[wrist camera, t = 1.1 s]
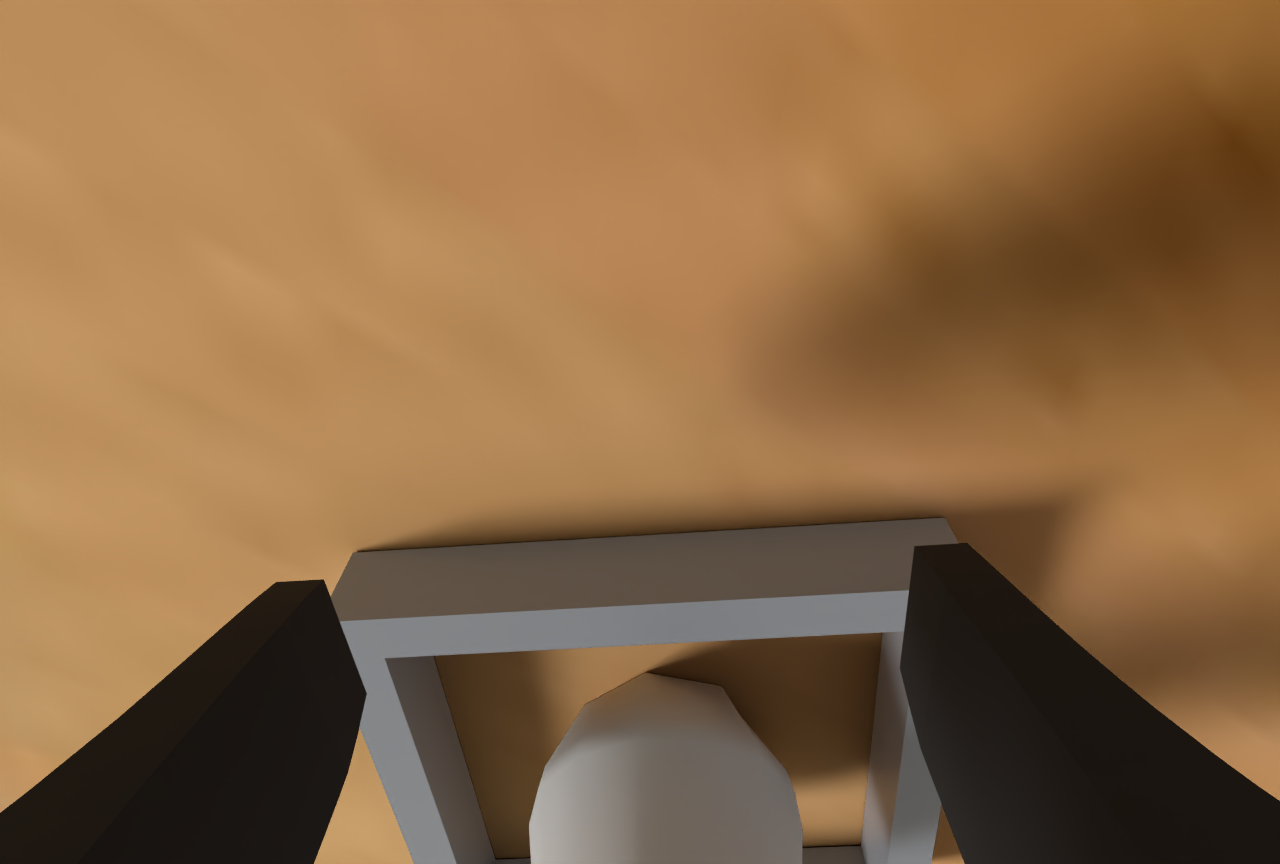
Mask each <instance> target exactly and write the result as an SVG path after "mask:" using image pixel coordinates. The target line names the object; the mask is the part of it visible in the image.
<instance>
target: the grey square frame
mask: <svg viewBox="0 0 1280 864" xmlns="http://www.w3.org/2000/svg"><path fill="white" fill-rule="evenodd" d="M940 544H958V541H957V539H956V537H955V535H954V533H953V532H952V530H951V528H950V526H949V524H948V522H947V520H946V518H929V519H912V520H895V521H878V522H861V523H844V524H827V525H811V526H794V527H777V528H760V529H743V530H726V531H709V532H692V533H676V534H659V535H642V536H625V537H608V538H591V539H574V540H557V541H541V542H524V543H507V544H490V545H473V546H456V547H439V548H422V549H406V550H389V551H372V552H355V553H353V554H352V556H351V558H350V560H349V562H348V564H347V566H346V568H345V570H344V572H343V574H342V576H341V578H340V580H339V581H338V583H337V585H336V587H335V589H334V591H333V593H332V595H331V600H332V603H333V605H334V608H335V611H336V613H337V616H338V619H339V621H340V624H341V626H342V629H343V632H344V634H345V637H346V640H347V642H348V645H349V648H350V650H351V653H352V656H353V658H354V661H355V663H356V666H357V669H358V671H359V674H360V677H361V679H362V682H363V685H364V687H365V690H366V693H367V696H366V700H365V704H364V709H363V713H362V718H361V722H360V726H359V727H360V729H361V732H362V734H363V737H364V739H365V742H366V744H367V747H368V749H369V752H370V754H371V757H372V759H373V762H374V764H375V767H376V769H377V772H378V775H379V777H380V780H381V782H382V785H383V787H384V790H385V792H386V795H387V797H388V800H389V802H390V805H391V807H392V810H393V812H394V815H395V817H396V820H397V822H398V825H399V827H400V830H401V832H402V835H403V837H404V840H405V842H406V845H407V847H408V850H409V852H410V855H411V857H412V860H413V862H414V864H531V858H528V859H502V860H495V857H494V853H493V850H492V847H491V844H490V840H489V837H488V834H487V830H486V827H485V824H484V821H483V817H482V814H481V811H480V808H479V804H478V801H477V798H476V795H475V791H474V788H473V785H472V781H471V778H470V775H469V772H468V768H467V765H466V762H465V759H464V755H463V752H462V749H461V746H460V742H459V739H458V736H457V732H456V729H455V726H454V723H453V719H452V716H451V713H450V710H449V706H448V703H447V700H446V696H445V693H444V690H443V687H442V683H441V680H440V677H439V674H438V670H437V667H436V664H435V661H434V657H433V656H438V655H457V654H476V653H495V652H515V651H534V650H553V649H572V648H592V647H611V646H630V645H649V644H669V643H688V642H707V641H726V640H746V639H765V638H784V637H803V636H823V635H842V634H861V633H880V632H883V633H882V643H881V653H880V663H879V673H878V682H877V692H876V702H875V712H874V722H873V732H872V742H871V751H870V761H869V771H868V781H867V791H866V801H865V811H864V821H863V830H862V840H861V846H844V847H818V848H802V864H931V861H932V855H933V850H934V844H935V839H936V833H937V828H938V822H939V817H940V811H941V806H942V804H941V801H940V798H939V796H938V793H937V791H936V788H935V785H934V783H933V780H932V778H931V775H930V772H929V770H928V767H927V764H926V762H925V759H924V756H923V754H922V751H921V748H920V745H919V741H918V737H917V734H916V730H915V726H914V722H913V719H912V715H911V711H910V707H909V703H908V699H907V695H906V691H905V687H904V683H903V679H902V675H901V671H900V660H901V652H902V644H903V636H904V627H905V619H906V611H907V603H908V595H909V586H910V578H911V570H912V562H913V553H914V546H923V545H940Z"/></svg>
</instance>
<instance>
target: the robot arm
mask: <svg viewBox="0 0 1280 864" xmlns="http://www.w3.org/2000/svg"><path fill="white" fill-rule="evenodd" d="M900 671H901V675H902V679H903V683H904V687H905V691H906V695H907V699H908V703H909V707H910V711H911V715H912V719H913V722H914V726H915V730H916V734H917V737H918V741H919V745H920V748H921V751H922V754H923V756H924V759H925V762H926V764H927V767H928V770H929V772H930V775H931V778H932V780H933V783H934V785H935V788H936V791H937V793H938V796H939V798H940V801H941V804H942V806H943V809H944V811H945V814H946V817H947V819H948V822H949V824H950V827H951V829H952V832H953V834H954V837H955V840H956V842H957V845H958V847H959V850H960V852H961V855H962V858H963V860H964V863H965V864H1280V801H1279V800H1277V799H1276V798H1274V797H1273V796H1272V795H1270V794H1269V793H1267V792H1266V791H1264V790H1263V789H1261V788H1260V787H1259V786H1257V785H1256V784H1254V783H1253V782H1252V781H1250V780H1249V779H1247V778H1246V777H1245V776H1243V775H1242V774H1241V773H1239V772H1238V771H1237V770H1235V769H1234V768H1232V767H1231V766H1230V765H1228V764H1227V763H1226V762H1224V761H1223V760H1222V759H1220V758H1219V757H1218V756H1216V755H1215V754H1214V753H1212V752H1211V751H1210V750H1208V749H1207V748H1206V747H1205V746H1203V745H1202V744H1201V743H1199V742H1198V741H1197V740H1196V739H1194V738H1193V737H1192V736H1190V735H1189V734H1188V733H1186V732H1185V731H1184V730H1183V729H1181V728H1180V727H1179V726H1177V725H1176V724H1175V723H1174V722H1172V721H1171V720H1170V719H1168V718H1167V717H1166V716H1165V715H1163V714H1162V713H1161V712H1159V711H1158V710H1157V709H1156V708H1154V707H1153V706H1152V705H1151V704H1149V703H1148V702H1147V701H1146V700H1144V699H1143V698H1142V697H1141V696H1140V695H1138V694H1137V693H1136V692H1135V691H1133V690H1132V689H1131V688H1130V687H1129V686H1127V685H1126V684H1125V683H1124V682H1122V681H1121V680H1120V679H1119V678H1118V677H1117V676H1115V675H1114V674H1113V673H1112V672H1111V671H1110V670H1108V669H1107V668H1106V667H1105V666H1104V665H1103V664H1101V663H1100V662H1099V661H1098V660H1097V659H1096V658H1094V657H1093V656H1092V655H1091V654H1090V653H1088V652H1087V651H1086V650H1085V649H1084V648H1083V647H1081V646H1080V645H1079V644H1078V643H1077V642H1076V641H1075V640H1073V639H1072V638H1071V637H1070V636H1069V635H1068V634H1067V633H1066V632H1064V631H1063V630H1062V629H1061V628H1060V627H1059V626H1058V625H1056V624H1055V623H1054V622H1053V621H1052V620H1051V619H1050V618H1049V617H1048V616H1047V615H1045V614H1044V613H1043V612H1042V611H1041V610H1040V609H1039V608H1038V607H1037V606H1035V605H1034V604H1033V603H1032V602H1031V601H1030V600H1029V599H1028V598H1027V597H1026V596H1024V595H1023V594H1022V593H1021V592H1020V591H1019V590H1018V589H1017V588H1016V587H1015V586H1013V585H1012V584H1011V583H1010V582H1009V581H1008V580H1007V579H1006V578H1005V577H1004V576H1003V575H1001V574H1000V573H999V572H998V571H997V570H996V569H995V568H994V567H993V566H992V565H990V564H989V563H988V562H987V561H986V560H985V559H984V558H983V557H982V556H981V555H980V554H978V553H977V552H976V551H975V550H974V549H973V548H972V547H971V546H970V545H968V544H967V543H958V544H940V545H923V546H914V553H913V562H912V570H911V578H910V586H909V595H908V603H907V611H906V619H905V627H904V636H903V644H902V652H901V660H900ZM366 696H367V693H366V690H365V687H364V685H363V682H362V679H361V677H360V674H359V671H358V669H357V666H356V663H355V661H354V658H353V656H352V653H351V650H350V648H349V645H348V642H347V640H346V637H345V634H344V632H343V629H342V626H341V624H340V621H339V619H338V616H337V613H336V611H335V608H334V605H333V603H332V600H331V597H330V595H329V592H328V589H327V587H326V584H325V582H324V580H307V581H289V582H276V583H275V584H273V585H272V586H271V587H270V588H268V589H267V590H266V591H264V592H263V593H262V594H261V595H259V596H258V597H257V598H256V599H255V600H253V601H252V602H251V603H250V604H249V605H248V606H246V607H245V608H244V609H243V610H242V611H241V612H239V613H238V614H237V615H236V616H235V617H234V618H233V619H231V620H230V621H229V622H228V623H227V624H226V625H224V626H223V627H222V628H221V629H220V630H219V631H218V632H217V633H215V634H214V635H213V636H212V637H211V638H210V639H209V640H207V641H206V642H205V643H204V644H203V645H202V646H201V647H199V648H198V649H197V650H196V651H195V652H194V653H193V654H192V655H190V656H189V657H188V658H187V659H186V660H185V661H184V662H182V663H181V664H180V665H179V666H178V667H177V668H176V669H174V670H173V671H172V672H171V673H170V674H169V675H167V676H166V677H165V678H164V679H163V680H162V681H161V682H159V683H158V684H157V685H156V686H155V687H154V688H152V689H151V690H150V691H149V692H148V693H147V694H146V695H144V696H143V697H142V698H141V699H140V700H139V701H137V702H136V703H135V704H134V705H133V706H132V707H131V708H129V709H128V710H127V711H126V712H125V713H124V714H122V715H121V716H120V717H119V718H118V719H117V720H115V721H114V722H113V723H112V724H110V725H109V726H108V727H107V728H105V729H104V730H103V731H102V732H101V733H99V734H98V735H97V736H96V737H94V738H93V739H92V740H91V741H89V742H88V743H87V744H86V745H85V746H83V747H82V748H81V749H80V750H78V751H77V752H76V753H75V754H73V755H72V756H71V757H70V758H69V759H67V760H66V761H65V762H64V763H62V764H61V765H60V766H59V767H57V768H56V769H55V770H54V771H53V772H51V773H50V774H49V775H48V776H46V777H45V778H44V779H43V780H41V781H40V782H39V783H38V784H37V785H35V786H34V787H33V788H32V789H30V790H29V791H28V792H27V793H25V794H24V795H23V796H22V797H20V798H19V799H18V800H16V801H15V802H14V803H13V804H11V805H10V806H9V807H7V808H6V809H5V810H3V811H2V812H1V813H0V864H314V862H315V859H316V856H317V854H318V851H319V849H320V846H321V843H322V841H323V838H324V836H325V833H326V830H327V828H328V825H329V822H330V820H331V817H332V814H333V812H334V809H335V806H336V804H337V801H338V798H339V796H340V793H341V790H342V787H343V785H344V782H345V779H346V776H347V774H348V770H349V766H350V762H351V758H352V755H353V751H354V747H355V743H356V739H357V735H358V731H359V726H360V722H361V718H362V713H363V709H364V704H365V700H366Z"/></svg>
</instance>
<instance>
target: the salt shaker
mask: <svg viewBox="0 0 1280 864" xmlns="http://www.w3.org/2000/svg"><path fill="white" fill-rule="evenodd" d="M529 837H530V853H531V864H802V839H803V829H802V825H801V820H800V815H799V810H798V806H797V801H796V796H795V792H794V789H793V787H792V784H791V781H790V778H789V776H788V773H787V771H786V769H785V768H784V767H783V766H782V765H781V763H780V762H779V761H778V760H777V759H776V758H775V756H774V755H773V754H772V753H771V752H770V750H769V749H768V748H767V747H766V746H765V744H764V743H763V742H762V741H761V740H760V738H759V737H758V736H757V735H756V734H755V732H754V731H753V730H752V729H751V728H750V727H749V725H748V724H747V723H746V722H745V721H744V719H743V718H742V717H741V716H740V715H739V713H738V712H737V710H736V708H735V707H734V705H733V704H732V702H731V700H730V699H729V697H728V696H727V694H726V692H725V691H724V689H723V688H722V686H718V685H712V684H707V683H701V682H695V681H690V680H684V679H679V678H673V677H667V676H662V675H656V674H651V673H644V674H642V675H640V676H638V677H636V678H634V679H632V680H630V681H629V682H627V683H625V684H623V685H621V686H619V687H617V688H615V689H614V690H612V691H610V692H608V693H606V694H604V695H602V696H600V697H599V698H597V699H595V700H593V701H591V702H589V703H587V704H586V705H584V706H583V708H582V710H581V711H580V713H579V714H578V716H577V717H576V719H575V720H574V722H573V724H572V725H571V727H570V728H569V730H568V731H567V733H566V734H565V736H564V738H563V739H562V741H561V742H560V744H559V745H558V747H557V748H556V750H555V752H554V753H553V755H552V756H551V758H550V759H549V761H548V762H547V764H546V766H545V768H544V772H543V775H542V778H541V781H540V785H539V788H538V792H537V796H536V799H535V803H534V807H533V811H532V815H531V819H530V822H529Z"/></svg>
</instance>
